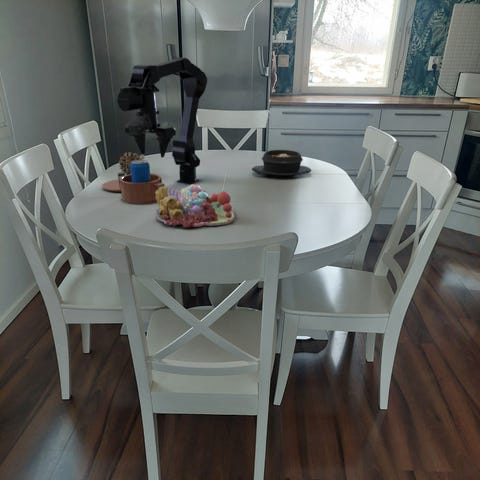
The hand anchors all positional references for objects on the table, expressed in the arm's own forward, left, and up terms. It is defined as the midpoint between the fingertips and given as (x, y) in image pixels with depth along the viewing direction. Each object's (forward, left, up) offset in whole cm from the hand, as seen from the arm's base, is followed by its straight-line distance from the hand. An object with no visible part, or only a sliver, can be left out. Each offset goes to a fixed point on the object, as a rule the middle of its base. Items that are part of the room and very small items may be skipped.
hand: (152, 155), depth 161 cm
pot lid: (+3, -14, -12) cm, 19 cm away
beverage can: (+9, +2, -12) cm, 15 cm away
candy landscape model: (+14, +29, -13) cm, 35 cm away
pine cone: (-14, -24, -13) cm, 31 cm away
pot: (+9, +2, -13) cm, 16 cm away
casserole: (-49, +26, -13) cm, 57 cm away
